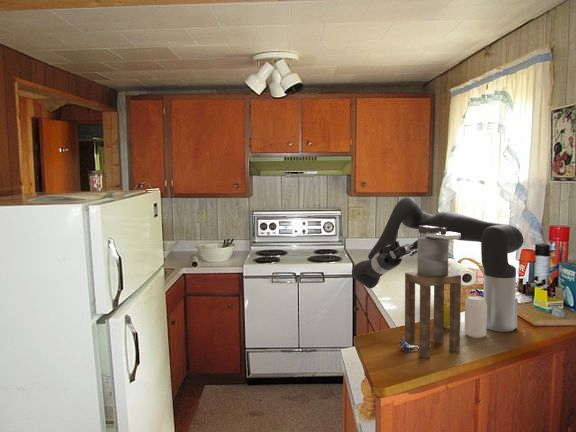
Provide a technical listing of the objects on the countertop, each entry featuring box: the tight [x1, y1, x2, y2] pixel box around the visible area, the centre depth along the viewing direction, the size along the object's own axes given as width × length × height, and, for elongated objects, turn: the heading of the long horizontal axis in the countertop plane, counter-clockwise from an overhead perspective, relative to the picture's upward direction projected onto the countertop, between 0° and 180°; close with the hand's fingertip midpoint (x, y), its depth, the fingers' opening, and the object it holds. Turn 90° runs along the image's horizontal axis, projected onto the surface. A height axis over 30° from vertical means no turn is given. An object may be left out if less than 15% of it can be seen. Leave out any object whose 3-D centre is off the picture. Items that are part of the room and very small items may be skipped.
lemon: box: [444, 303, 450, 329], centre depth 146 cm, size 6×6×8 cm
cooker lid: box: [418, 225, 461, 241], centre depth 129 cm, size 9×14×3 cm, turn 20°
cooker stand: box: [404, 236, 462, 359], centre depth 128 cm, size 12×9×32 cm
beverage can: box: [464, 295, 488, 339], centre depth 138 cm, size 6×6×12 cm
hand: (409, 242), depth 143 cm, fingers open, 8 cm apart
